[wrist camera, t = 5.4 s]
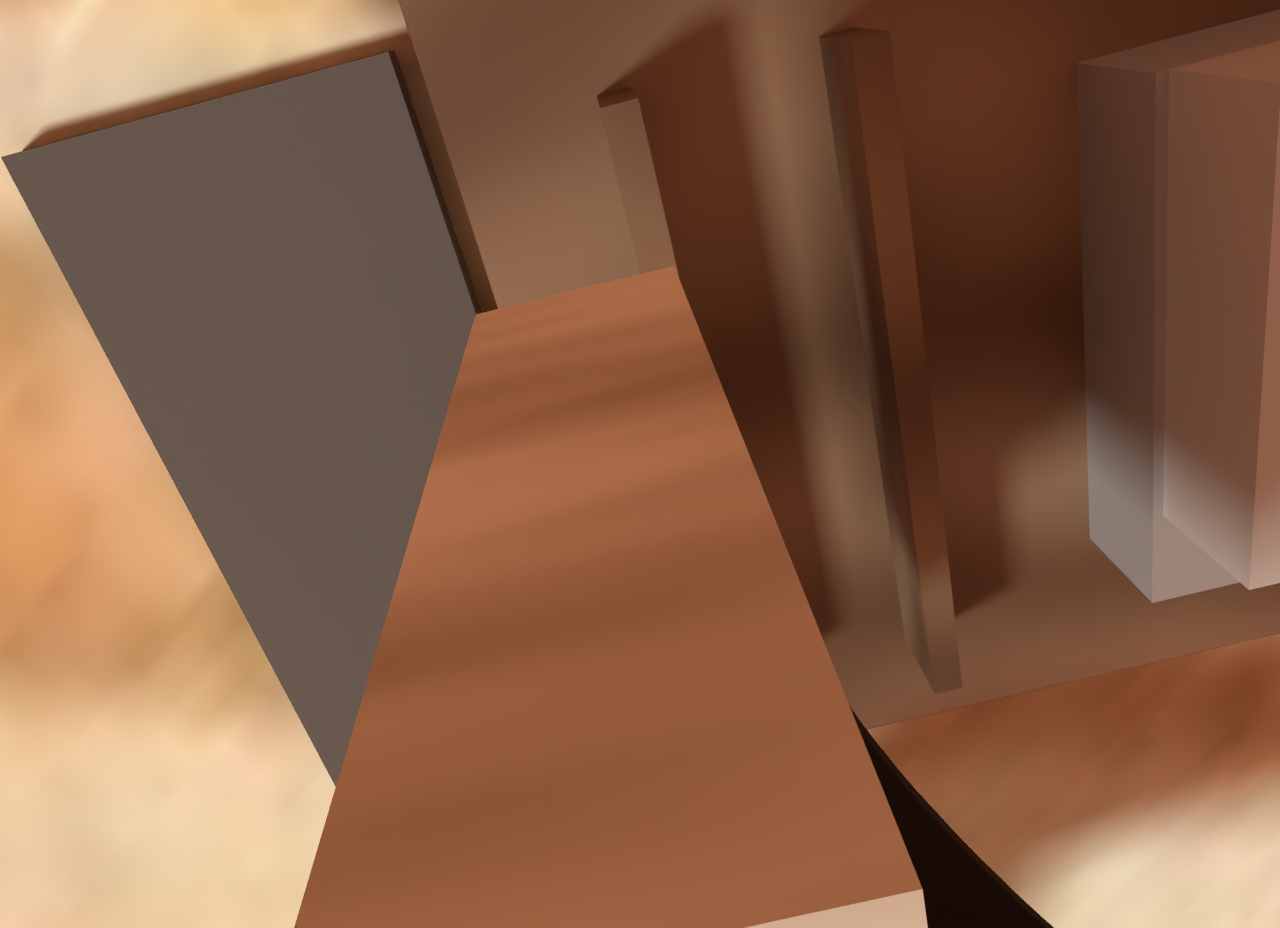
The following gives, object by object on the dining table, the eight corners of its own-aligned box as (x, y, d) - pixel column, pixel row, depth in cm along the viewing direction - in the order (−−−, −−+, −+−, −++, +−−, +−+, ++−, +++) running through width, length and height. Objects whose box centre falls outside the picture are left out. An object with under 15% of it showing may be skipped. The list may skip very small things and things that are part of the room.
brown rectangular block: (797, 835, 16) (1031, 1692, 8) (652, 867, 16) (738, 1745, 8) (673, 265, 11) (924, 891, 3) (475, 315, 12) (264, 1032, 4)
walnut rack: (1355, 584, 23) (1457, 661, 21) (646, 750, 24) (656, 845, 21) (1467, -314, 15) (1659, -381, 13) (401, -20, 16) (367, -24, 13)
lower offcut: (1270, 494, 21) (1355, 555, 18) (1089, 538, 21) (1152, 603, 19) (1305, 2, 16) (1422, 3, 14) (1076, 62, 16) (1156, 72, 14)
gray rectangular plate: (618, 726, 24) (619, 742, 23) (351, 788, 24) (346, 807, 23) (393, 50, 17) (388, 51, 16) (19, 152, 17) (1, 157, 16)
